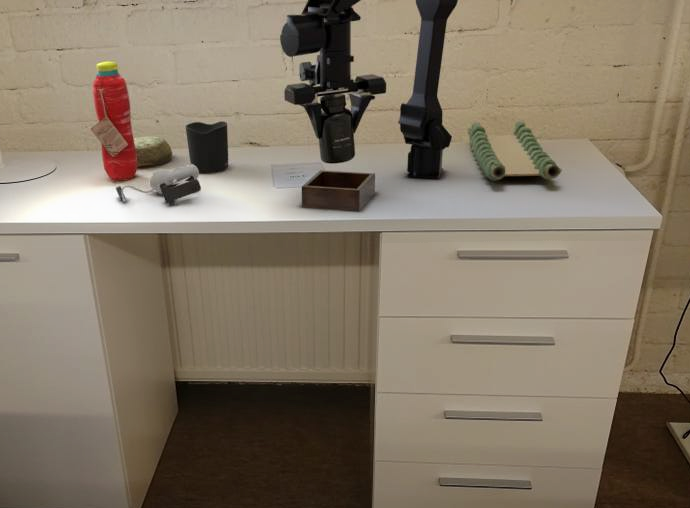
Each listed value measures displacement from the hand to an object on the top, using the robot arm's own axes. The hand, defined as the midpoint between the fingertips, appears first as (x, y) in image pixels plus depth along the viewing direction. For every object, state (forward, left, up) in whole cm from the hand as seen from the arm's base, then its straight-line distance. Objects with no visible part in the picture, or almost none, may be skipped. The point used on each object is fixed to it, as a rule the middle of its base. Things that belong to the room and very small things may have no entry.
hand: (335, 135), depth 150 cm
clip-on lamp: (+36, +8, -13) cm, 39 cm away
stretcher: (-30, -32, -13) cm, 45 cm away
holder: (-1, +1, -12) cm, 12 cm away
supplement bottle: (0, 0, -5) cm, 5 cm away
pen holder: (+35, -15, -13) cm, 40 cm away
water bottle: (+52, -3, -13) cm, 54 cm away
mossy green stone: (+54, -18, -13) cm, 58 cm away
